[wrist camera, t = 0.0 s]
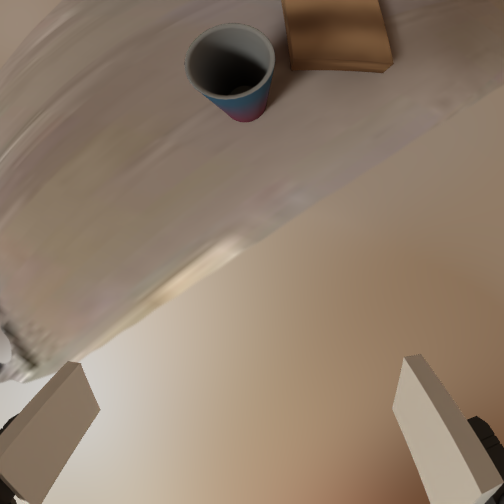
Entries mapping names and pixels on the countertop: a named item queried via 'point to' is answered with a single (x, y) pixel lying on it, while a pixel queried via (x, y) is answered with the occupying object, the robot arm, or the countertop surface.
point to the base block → (336, 35)
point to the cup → (232, 69)
